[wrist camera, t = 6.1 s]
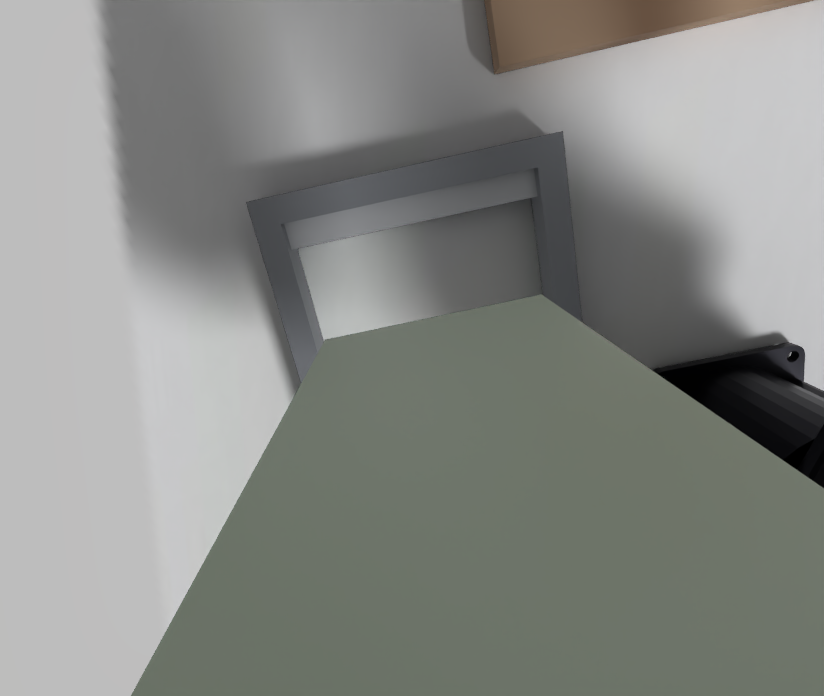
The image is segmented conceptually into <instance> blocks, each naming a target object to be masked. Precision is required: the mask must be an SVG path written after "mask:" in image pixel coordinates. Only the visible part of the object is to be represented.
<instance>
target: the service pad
mask: <svg viewBox="0 0 824 696" xmlns="http://www.w3.org/2000/svg"><path fill="white" fill-rule="evenodd" d="M809 1H813V0H484V2H485V9H486V17H487V24H488V31H489V38H490V46H491V53H492V60H493V67H494V74H498V73H502V72H507V71H511V70H515V69H520V68H524V67H528V66H533V65H537V64H541V63H546V62H550V61H554V60H559V59H563V58H567V57H572V56H576V55H580V54H585V53H589V52H593V51H597V50H602V49H606V48H610V47H615V46H619V45H623V44H628V43H632V42H636V41H641V40H645V39H649V38H654V37H658V36H662V35H667V34H671V33H675V32H680V31H684V30H688V29H693V28H697V27H701V26H705V25H710V24H714V23H718V22H723V21H727V20H731V19H736V18H740V17H744V16H749V15H753V14H757V13H762V12H766V11H770V10H775V9H779V8H783V7H788V6H792V5H796V4H800V3H805V2H809Z"/></svg>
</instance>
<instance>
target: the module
mask: <svg viewBox="0 0 824 696" xmlns="http://www.w3.org/2000/svg"><path fill="white" fill-rule="evenodd" d="M131 696H824V488H822V487H821V486H820V485H818V484H817V483H815V482H814V481H812V480H811V479H809V478H808V477H806V476H805V475H804V474H802V473H801V472H799V471H798V470H796V469H795V468H793V467H792V466H790V465H789V464H788V463H786V462H785V461H783V460H782V459H780V458H779V457H777V456H776V455H774V454H773V453H772V452H770V451H769V450H767V449H766V448H764V447H763V446H761V445H760V444H758V443H757V442H756V441H754V440H753V439H751V438H750V437H748V436H747V435H745V434H744V433H742V432H741V431H740V430H738V429H737V428H735V427H734V426H732V425H731V424H729V423H728V422H726V421H725V420H723V419H722V418H721V417H719V416H718V415H716V414H715V413H713V412H712V411H710V410H709V409H707V408H706V407H705V406H703V405H702V404H700V403H699V402H697V401H696V400H694V399H693V398H691V397H690V396H689V395H687V394H686V393H684V392H683V391H681V390H680V389H678V388H677V387H675V386H674V385H673V384H671V383H670V382H668V381H667V380H665V379H664V378H662V377H661V376H659V375H658V374H657V373H655V372H654V371H652V370H651V369H649V368H648V367H646V366H645V365H643V364H642V363H641V362H639V361H638V360H636V359H635V358H633V357H632V356H630V355H629V354H627V353H626V352H625V351H623V350H622V349H620V348H619V347H617V346H616V345H614V344H613V343H611V342H610V341H609V340H607V339H606V338H604V337H603V336H601V335H600V334H598V333H597V332H595V331H594V330H593V329H591V328H590V327H588V326H587V325H585V324H584V323H582V322H581V321H579V320H578V319H577V318H575V317H574V316H572V315H571V314H569V313H568V312H566V311H565V310H563V309H562V308H561V307H559V306H558V305H556V304H555V303H553V302H552V301H550V300H549V299H547V298H546V297H544V296H543V295H542V294H541V295H536V296H532V297H527V298H522V299H517V300H513V301H508V302H503V303H498V304H493V305H489V306H484V307H479V308H474V309H470V310H465V311H460V312H455V313H450V314H446V315H441V316H436V317H431V318H427V319H422V320H417V321H412V322H408V323H403V324H398V325H393V326H388V327H384V328H379V329H374V330H369V331H365V332H360V333H355V334H350V335H346V336H341V337H336V338H331V339H326V340H325V341H324V343H323V345H322V346H321V348H320V350H319V352H318V354H317V356H316V357H315V359H314V361H313V363H312V365H311V367H310V368H309V370H308V372H307V374H306V376H305V378H304V379H303V381H302V383H301V385H300V387H299V389H298V390H297V392H296V394H295V396H294V398H293V400H292V401H291V403H290V405H289V407H288V409H287V411H286V412H285V414H284V416H283V418H282V420H281V422H280V423H279V425H278V427H277V429H276V431H275V433H274V434H273V436H272V438H271V440H270V442H269V444H268V445H267V447H266V449H265V451H264V453H263V455H262V456H261V458H260V460H259V462H258V464H257V466H256V467H255V469H254V471H253V473H252V475H251V477H250V478H249V480H248V482H247V484H246V486H245V488H244V489H243V491H242V493H241V495H240V497H239V499H238V500H237V502H236V504H235V506H234V508H233V510H232V511H231V513H230V515H229V517H228V519H227V521H226V522H225V524H224V526H223V528H222V530H221V532H220V533H219V535H218V537H217V539H216V541H215V543H214V544H213V546H212V548H211V550H210V552H209V554H208V555H207V557H206V559H205V561H204V563H203V565H202V566H201V568H200V570H199V572H198V574H197V576H196V578H195V579H194V581H193V583H192V585H191V587H190V588H189V590H188V592H187V594H186V596H185V598H184V600H183V601H182V603H181V605H180V607H179V609H178V611H177V612H176V614H175V616H174V618H173V620H172V622H171V623H170V625H169V627H168V629H167V631H166V633H165V634H164V636H163V638H162V640H161V642H160V644H159V645H158V647H157V649H156V651H155V653H154V655H153V656H152V658H151V660H150V662H149V664H148V666H147V667H146V669H145V671H144V673H143V675H142V677H141V678H140V680H139V682H138V684H137V686H136V688H135V689H134V691H133V693H132V695H131Z"/></svg>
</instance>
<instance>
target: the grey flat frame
mask: <svg viewBox="0 0 824 696" xmlns="http://www.w3.org/2000/svg"><path fill="white" fill-rule="evenodd" d="M528 198H531V202H532V210H533V218H534V226H535V234H536V242H537V250H538V258H539V266H540V274H541V282H542V290H543V296H544V297H546V298H547V299H549V300H550V301H552V302H553V303H555V304H556V305H558V306H559V307H561V308H562V309H563V310H565V311H566V312H568V313H569V314H571V315H572V316H574V317H575V318H577V319H578V320H579V321H581V322H582V315H581V305H580V295H579V285H578V276H577V266H576V256H575V246H574V236H573V227H572V217H571V207H570V197H569V187H568V178H567V168H566V158H565V148H564V138H563V131H562V132H557V133H553V134H548V135H544V136H539V137H535V138H530V139H526V140H521V141H517V142H512V143H508V144H504V145H499V146H495V147H490V148H486V149H481V150H477V151H472V152H468V153H463V154H459V155H454V156H450V157H446V158H441V159H437V160H432V161H428V162H423V163H419V164H414V165H410V166H405V167H401V168H396V169H392V170H387V171H383V172H379V173H374V174H370V175H365V176H361V177H356V178H352V179H347V180H343V181H338V182H334V183H329V184H325V185H321V186H316V187H312V188H307V189H303V190H298V191H294V192H289V193H285V194H280V195H276V196H271V197H267V198H263V199H258V200H254V201H249V202H246V204H247V207H248V210H249V214H250V217H251V220H252V223H253V227H254V230H255V233H256V237H257V240H258V243H259V246H260V250H261V253H262V256H263V260H264V263H265V266H266V269H267V273H268V276H269V279H270V283H271V286H272V289H273V292H274V296H275V299H276V302H277V306H278V309H279V312H280V315H281V319H282V322H283V325H284V329H285V332H286V335H287V338H288V342H289V345H290V348H291V352H292V355H293V358H294V361H295V365H296V368H297V371H298V375H299V378H300V381H301V383H302V381H303V379H304V378H305V376H306V374H307V372H308V370H309V368H310V367H311V365H312V363H313V361H314V359H315V357H316V356H317V354H318V352H319V350H320V348H321V346H322V345H323V343H324V341H323V337H322V334H321V330H320V327H319V323H318V319H317V316H316V312H315V309H314V305H313V302H312V298H311V294H310V291H309V287H308V284H307V280H306V277H305V273H304V269H303V266H302V262H301V259H300V255H299V252H298V249H299V248H303V247H308V246H312V245H317V244H322V243H326V242H331V241H335V240H340V239H345V238H349V237H354V236H358V235H363V234H368V233H372V232H377V231H381V230H386V229H390V228H395V227H400V226H404V225H409V224H413V223H418V222H423V221H427V220H432V219H436V218H441V217H445V216H450V215H455V214H459V213H464V212H468V211H473V210H478V209H482V208H487V207H491V206H496V205H501V204H505V203H510V202H514V201H519V200H523V199H528Z"/></svg>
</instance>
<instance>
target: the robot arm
mask: <svg viewBox="0 0 824 696" xmlns="http://www.w3.org/2000/svg"><path fill="white" fill-rule="evenodd" d="M790 352H792V353H791V356H790V357H789V358H787V356H788V354H789V353H790ZM804 362H805V352H804V349H803V348H802V347H800V346H798V345H795V344H792V343H783V344H778V345H773V346H768V347H763V348H758V349H753V350H748V351H743V352H738V353H733V354H728V355H723V356H718V357H713V358H707V359H702V360H697V361H692V362H687V363H682V364H677V365H672V366H667V367H662V368H658V369H655V370H653V371H654V372H655V373H657V374H658V375H659V376H661V377H665V380H667V381H668V382H670V383H671V384H673V385H674V386H675V387H677V388H678V389H680V390H681V391H683V392H684V393H686V394H687V395H689V396H690V397H691V398H693V399H694V400H696V401H697V402H699V403H700V404H702V405H703V406H705V407H706V408H707V409H709V410H710V411H712V412H713V413H715V414H716V415H718V416H719V417H721V418H722V419H723V420H725V421H726V422H728V423H729V424H731V425H732V426H734V427H735V428H737V429H738V430H740V431H741V432H742V433H744V434H745V435H747V436H748V437H750V438H751V439H753V440H754V441H756V442H757V443H758V444H760V445H761V446H763V447H764V448H766V449H767V450H769V451H770V452H772V453H773V454H774V455H776V456H777V457H779V458H780V459H782V460H783V461H785V462H786V463H788V464H789V465H790V466H792V467H793V468H795V469H796V470H798V471H799V472H801V473H802V474H804V475H805V476H806V477H808V478H809V479H811V480H812V481H814V482H815V483H817V484H818V485H820V486H821V487H822V488H824V391H823V390H820V389H818V388H816V387H814V386H812V385H809V384H807V383H805V382H804Z"/></svg>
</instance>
